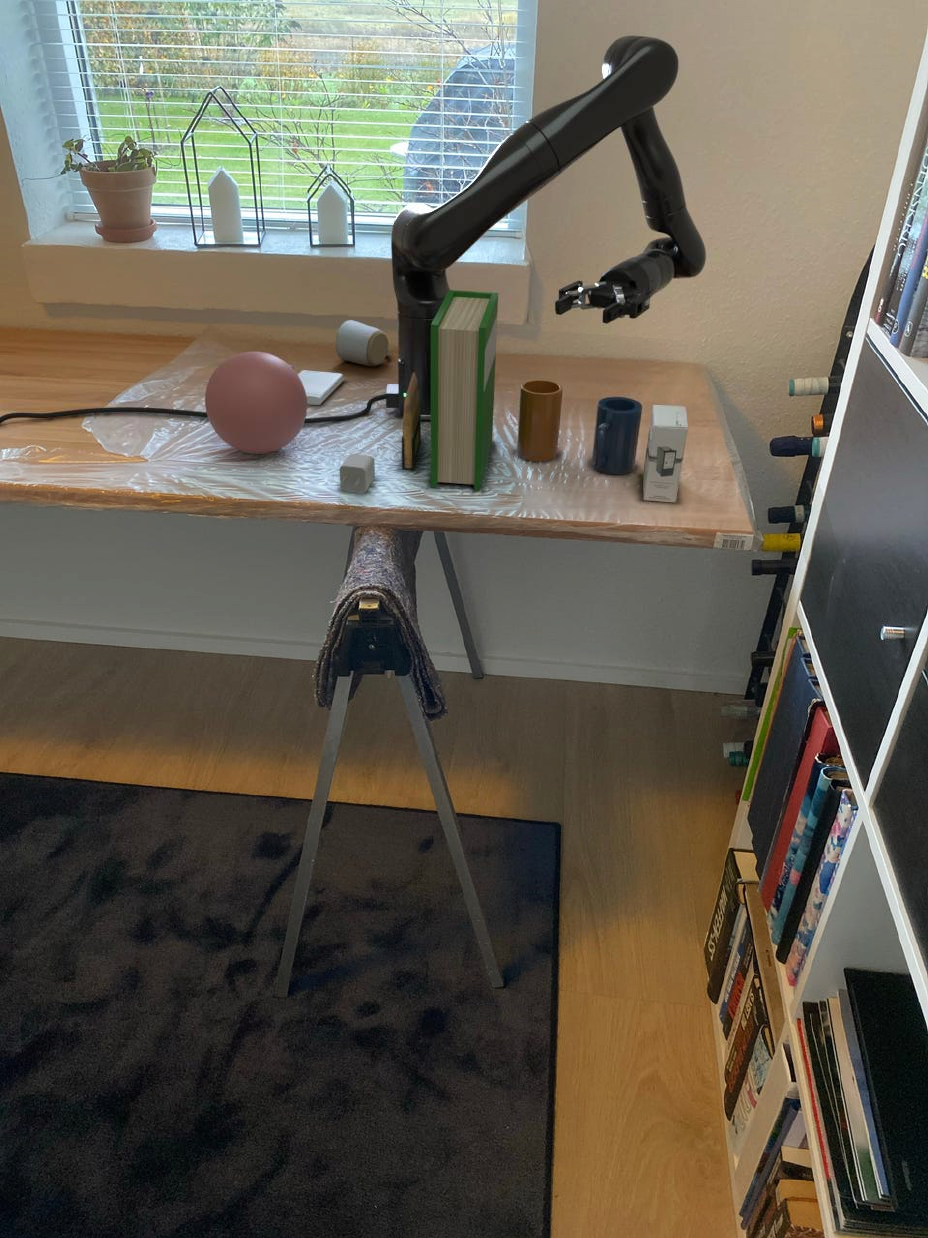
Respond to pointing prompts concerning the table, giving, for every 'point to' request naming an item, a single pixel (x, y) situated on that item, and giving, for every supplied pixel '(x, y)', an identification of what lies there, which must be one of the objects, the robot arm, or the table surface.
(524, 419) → the tumbler
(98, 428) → the table surface
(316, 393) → the hard drive
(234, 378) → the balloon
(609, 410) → the mug
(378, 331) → the ceramic mug
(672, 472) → the ink box
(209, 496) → the table surface
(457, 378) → the hardback book
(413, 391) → the ammunition clip
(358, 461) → the usb wall charger
